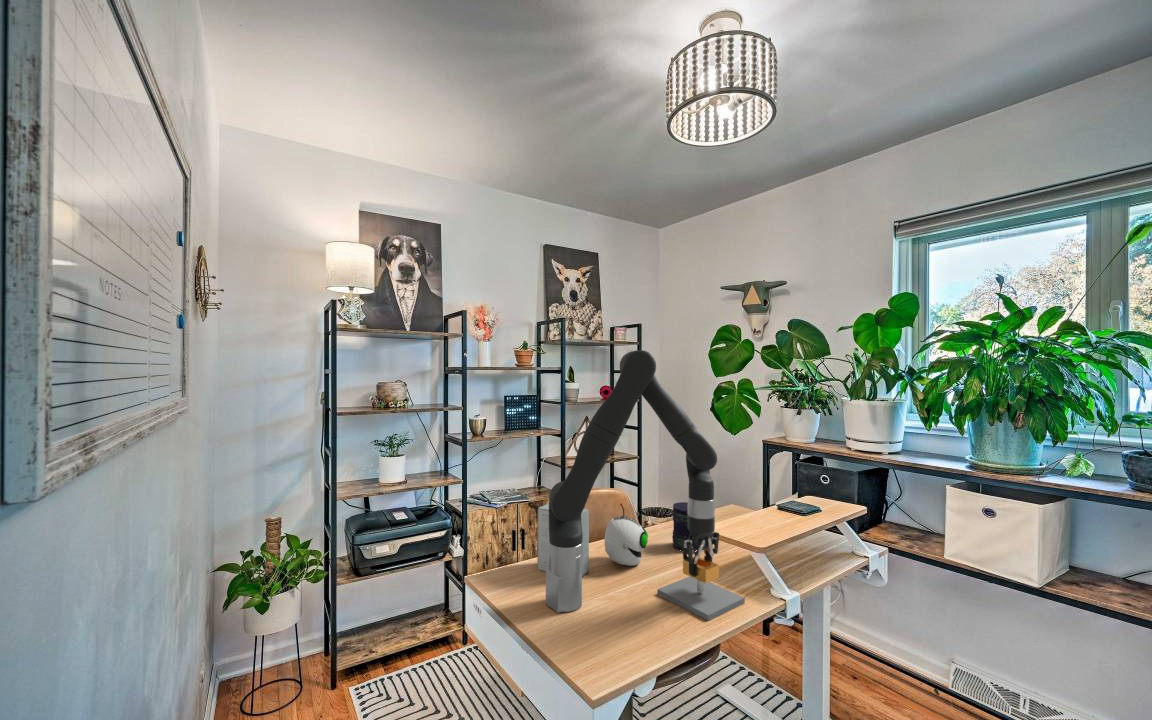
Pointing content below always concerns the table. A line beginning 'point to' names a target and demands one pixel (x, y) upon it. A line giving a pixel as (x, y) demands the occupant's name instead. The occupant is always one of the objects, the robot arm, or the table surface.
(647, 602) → the table surface
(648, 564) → the table surface
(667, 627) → the table surface
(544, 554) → the hard drive box
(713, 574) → the open wooden box
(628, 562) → the robot head
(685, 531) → the storage jar
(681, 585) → the plate
